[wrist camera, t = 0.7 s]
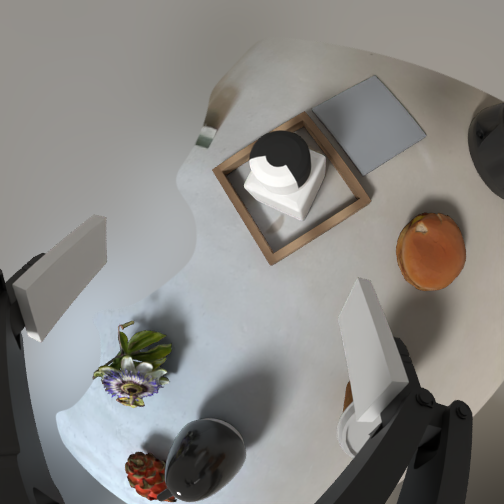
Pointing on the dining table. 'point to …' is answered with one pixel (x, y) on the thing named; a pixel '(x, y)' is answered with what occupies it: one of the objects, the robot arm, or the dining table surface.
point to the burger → (431, 251)
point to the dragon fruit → (146, 475)
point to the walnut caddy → (315, 232)
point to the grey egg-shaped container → (202, 460)
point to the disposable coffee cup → (353, 427)
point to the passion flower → (135, 368)
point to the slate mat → (369, 124)
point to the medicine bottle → (285, 173)
